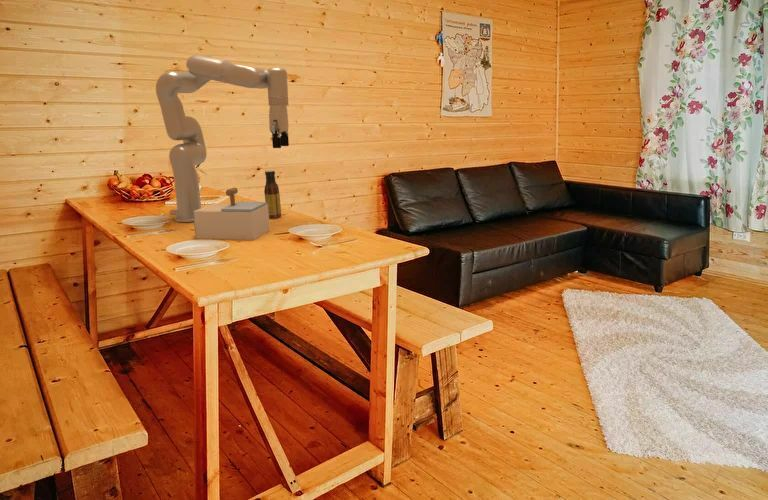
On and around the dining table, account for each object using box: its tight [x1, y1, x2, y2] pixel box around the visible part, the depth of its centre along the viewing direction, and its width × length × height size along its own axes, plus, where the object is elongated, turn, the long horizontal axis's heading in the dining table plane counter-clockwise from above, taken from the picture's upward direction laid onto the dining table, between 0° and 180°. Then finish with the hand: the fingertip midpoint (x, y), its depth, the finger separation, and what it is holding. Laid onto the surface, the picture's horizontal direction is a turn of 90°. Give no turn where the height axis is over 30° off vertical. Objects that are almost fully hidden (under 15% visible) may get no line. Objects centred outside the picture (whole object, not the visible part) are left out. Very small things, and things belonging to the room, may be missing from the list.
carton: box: [193, 202, 271, 241], centre depth 212 cm, size 23×16×10 cm
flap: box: [221, 187, 267, 212], centre depth 209 cm, size 12×15×7 cm
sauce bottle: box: [263, 169, 282, 219], centre depth 241 cm, size 7×6×20 cm
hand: (280, 147), depth 223 cm, fingers open, 9 cm apart
